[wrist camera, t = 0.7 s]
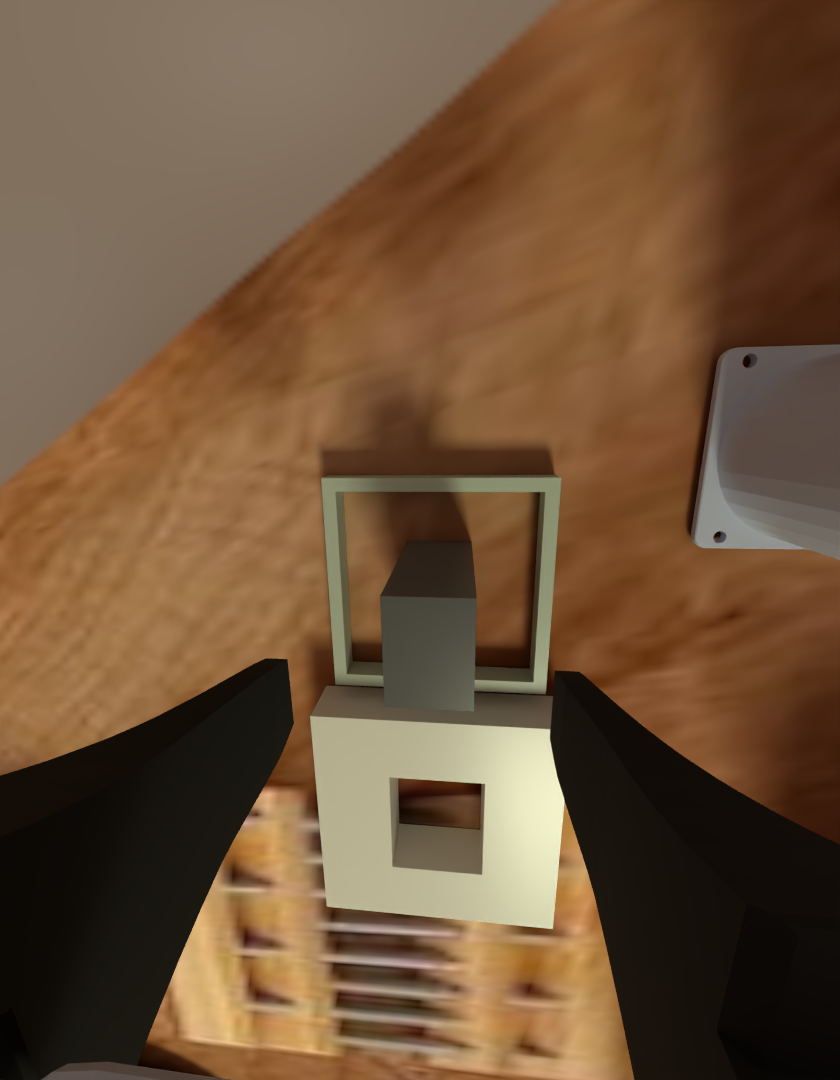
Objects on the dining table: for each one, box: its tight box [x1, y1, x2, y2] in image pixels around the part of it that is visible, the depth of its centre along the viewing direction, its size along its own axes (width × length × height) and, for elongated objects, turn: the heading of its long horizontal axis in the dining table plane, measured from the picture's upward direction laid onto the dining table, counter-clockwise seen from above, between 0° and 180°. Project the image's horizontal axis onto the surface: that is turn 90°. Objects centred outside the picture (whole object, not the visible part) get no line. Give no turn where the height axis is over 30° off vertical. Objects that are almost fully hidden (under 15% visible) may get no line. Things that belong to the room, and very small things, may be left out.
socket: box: [310, 686, 564, 929], centre depth 22 cm, size 12×12×2 cm
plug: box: [380, 541, 477, 712], centre depth 17 cm, size 3×4×7 cm
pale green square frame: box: [321, 475, 561, 694], centre depth 20 cm, size 10×10×1 cm
